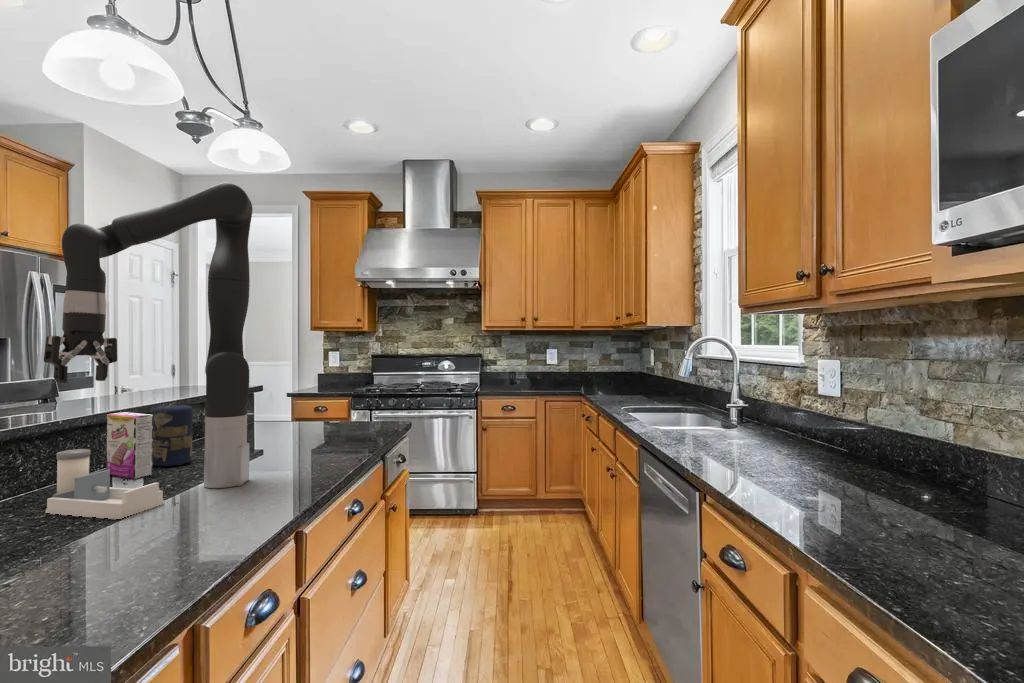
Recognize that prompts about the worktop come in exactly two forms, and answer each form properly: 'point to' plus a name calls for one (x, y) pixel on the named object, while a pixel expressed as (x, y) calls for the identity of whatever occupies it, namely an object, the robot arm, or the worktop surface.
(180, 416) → the canister
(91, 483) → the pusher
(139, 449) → the candy bar box
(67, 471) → the jar
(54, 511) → the cream shallow rectangular tray
